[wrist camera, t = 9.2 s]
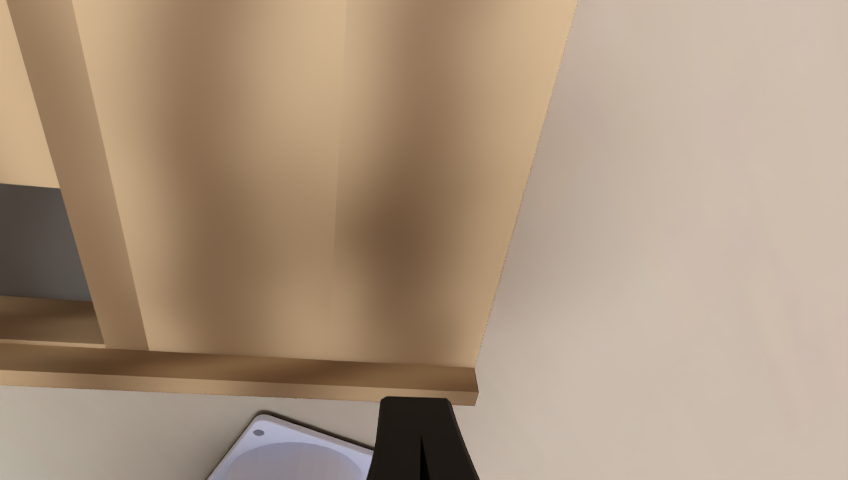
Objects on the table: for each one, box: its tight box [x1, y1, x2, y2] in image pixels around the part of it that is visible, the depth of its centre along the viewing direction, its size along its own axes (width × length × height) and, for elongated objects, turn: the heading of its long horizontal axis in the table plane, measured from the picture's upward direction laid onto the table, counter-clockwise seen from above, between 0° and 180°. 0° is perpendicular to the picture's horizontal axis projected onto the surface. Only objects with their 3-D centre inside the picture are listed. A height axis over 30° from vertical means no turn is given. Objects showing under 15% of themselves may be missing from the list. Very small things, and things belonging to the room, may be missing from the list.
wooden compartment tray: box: [0, 0, 578, 406], centre depth 14 cm, size 26×22×4 cm
